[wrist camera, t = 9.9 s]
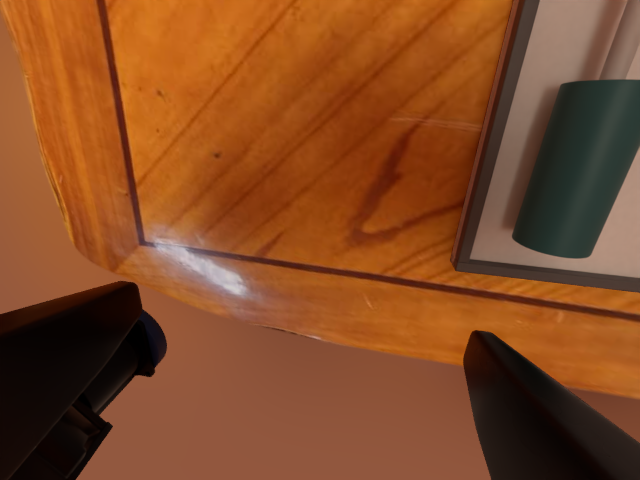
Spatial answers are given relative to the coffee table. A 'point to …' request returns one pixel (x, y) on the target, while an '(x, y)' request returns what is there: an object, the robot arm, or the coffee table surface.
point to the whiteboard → (525, 141)
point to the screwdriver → (585, 154)
